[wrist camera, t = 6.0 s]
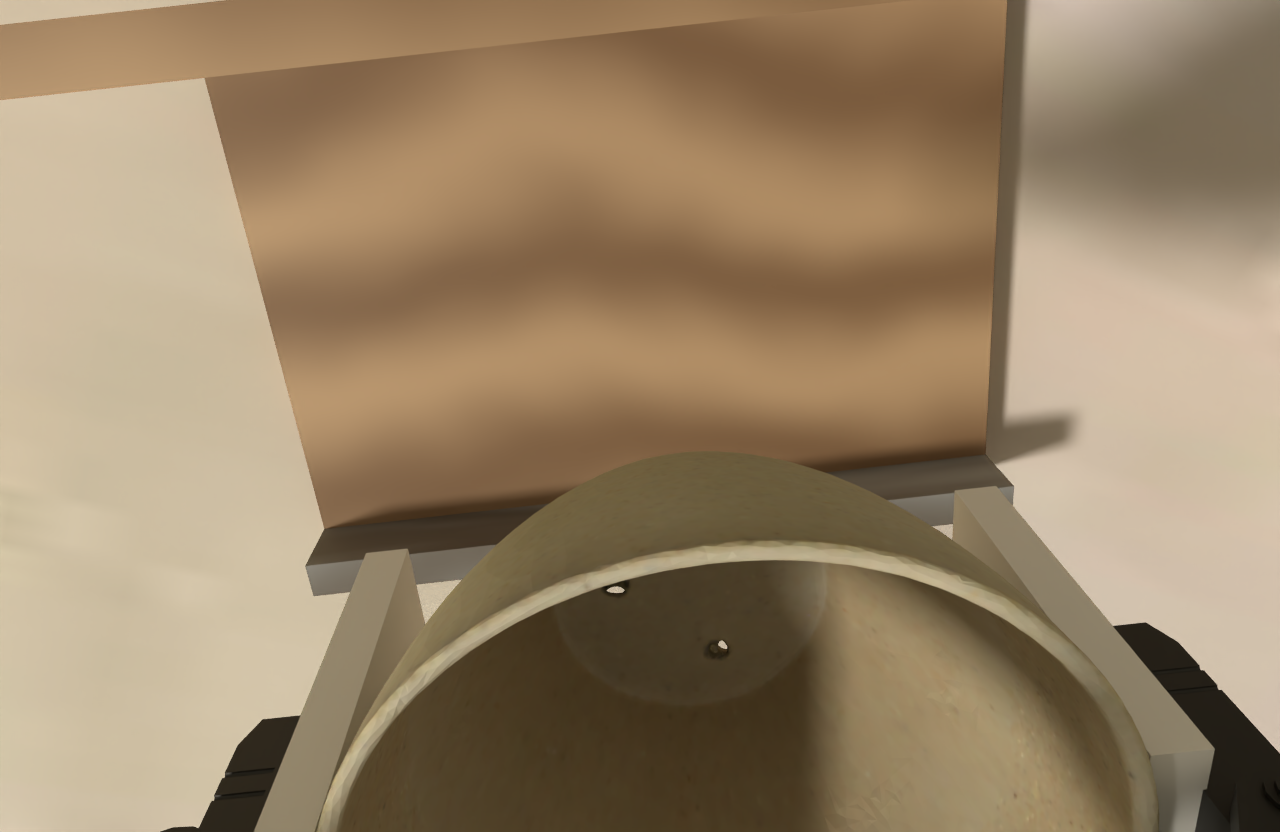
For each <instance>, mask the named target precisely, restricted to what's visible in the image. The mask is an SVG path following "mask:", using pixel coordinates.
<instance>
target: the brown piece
mask: <svg viewBox="0 0 1280 832" xmlns="http://www.w3.org/2000/svg"><path fill="white" fill-rule="evenodd" d="M1006 15H1007V0H226V1H216V2H207V3H198V4H189V5H180V6H170V7H161V8H152V9H143V10H134V11H125V12H115V13H106V14H97V15H88V16H79V17H70V18H60V19H51V20H42V21H33V22H24V23H14V24H5V25H0V100H6V99H15V98H24V97H33V96H42V95H52V94H61V93H70V92H79V91H88V90H97V89H106V88H115V87H125V86H134V85H143V84H152V83H161V82H170V81H179V80H189V79H198V78H205V81H206V85H207V89H208V93H209V96H210V100H211V104H212V108H213V112H214V115H215V119H216V123H217V127H218V130H219V134H220V138H221V142H222V145H223V149H224V153H225V157H226V160H227V164H228V168H229V172H230V175H231V179H232V183H233V187H234V190H235V194H236V198H237V202H238V205H239V209H240V213H241V217H242V221H243V224H244V228H245V232H246V236H247V239H248V243H249V247H250V251H251V254H252V258H253V262H254V266H255V269H256V273H257V277H258V281H259V284H260V288H261V292H262V296H263V299H264V303H265V307H266V311H267V314H268V318H269V322H270V326H271V330H272V333H273V337H274V341H275V345H276V348H277V352H278V356H279V360H280V363H281V367H282V371H283V375H284V378H285V382H286V386H287V390H288V393H289V397H290V401H291V405H292V408H293V412H294V416H295V420H296V424H297V427H298V431H299V435H300V439H301V442H302V446H303V450H304V454H305V457H306V461H307V465H308V469H309V472H310V476H311V480H312V484H313V487H314V491H315V495H316V499H317V502H318V506H319V510H320V514H321V517H322V521H323V525H324V531H323V533H322V535H321V537H320V539H319V541H318V543H317V545H316V546H315V548H314V550H313V552H312V554H311V556H310V558H309V560H308V562H307V564H306V566H305V567H306V570H307V574H308V577H309V581H310V584H311V588H312V592H313V595H314V596H319V595H328V594H337V593H346V592H351V589H352V587H353V584H354V582H355V579H356V577H357V574H358V572H359V570H360V567H361V565H362V562H363V560H364V557H365V555H366V553H371V552H380V551H390V550H399V549H408V551H409V556H410V560H411V564H412V569H413V573H414V578H415V582H416V584H425V583H434V582H443V581H452V580H461V579H463V578H464V577H465V576H466V575H467V574H468V573H469V572H470V571H471V570H472V569H473V568H474V567H475V566H476V565H477V564H478V563H479V562H480V561H481V560H482V559H483V558H484V557H485V556H486V555H487V554H488V553H489V552H490V551H491V550H492V549H493V548H494V547H495V546H496V545H497V544H498V543H499V542H500V541H502V540H503V539H504V538H505V537H506V536H507V535H508V534H510V533H511V532H512V531H513V530H514V529H515V528H517V527H518V526H519V525H521V524H522V523H523V522H524V521H526V520H527V519H528V518H530V517H531V516H532V515H533V514H535V513H536V512H538V511H539V510H541V509H542V508H543V507H545V506H546V505H548V504H549V503H551V502H552V501H554V500H555V499H557V498H558V497H560V496H562V495H563V494H565V493H567V492H568V491H570V490H572V489H574V488H575V487H577V486H579V485H581V484H583V483H585V482H587V481H589V480H591V479H593V478H595V477H597V476H599V475H601V474H603V473H605V472H608V471H610V470H613V469H615V468H618V467H621V466H623V465H626V464H630V463H633V462H636V461H639V460H642V459H646V458H651V457H656V456H662V455H667V454H675V453H683V452H694V451H719V452H736V453H744V454H752V455H758V456H764V457H770V458H776V459H780V460H784V461H788V462H792V463H796V464H799V465H802V466H806V467H809V468H812V469H815V470H819V471H822V472H825V473H828V474H830V475H833V476H835V477H838V478H840V479H843V480H845V481H848V482H850V483H853V484H855V485H857V486H859V487H861V488H864V489H866V490H868V491H870V492H872V493H874V494H876V495H878V496H880V497H882V498H884V499H886V500H888V501H889V502H891V503H893V504H895V505H897V506H898V507H900V508H902V509H904V510H906V511H907V512H909V513H911V514H912V515H914V516H916V517H917V518H919V519H921V520H922V521H924V522H925V523H927V524H929V525H930V526H938V525H947V524H953V516H954V495H955V490H963V489H972V488H982V487H991V486H997V488H998V489H999V490H1000V491H1001V492H1002V494H1003V495H1004V496H1005V497H1006V498H1007V500H1008V501H1009V502H1010V503H1011V504H1012V506H1013V493H1014V486H1013V485H1012V483H1011V482H1010V481H1009V480H1008V479H1007V478H1006V477H1005V476H1004V475H1003V474H1002V472H1001V471H1000V470H999V469H998V468H997V467H996V466H995V465H994V464H993V462H992V461H991V460H990V459H989V458H988V457H987V456H986V455H985V451H986V430H987V409H988V389H989V368H990V347H991V326H992V306H993V285H994V264H995V243H996V223H997V202H998V181H999V160H1000V139H1001V119H1002V98H1003V77H1004V56H1005V36H1006Z"/></svg>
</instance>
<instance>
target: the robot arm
mask: <svg viewBox="0 0 1280 832" xmlns="http://www.w3.org/2000/svg"><path fill="white" fill-rule="evenodd" d="M952 540H953V541H954V542H956V543H957V544H959V545H960V546H962V547H963V548H964V549H966V550H967V551H969V552H970V553H971V554H973V555H974V556H975V557H977V558H978V559H979V560H981V561H982V562H983V563H985V564H986V565H987V566H989V567H990V568H991V569H993V570H994V571H995V572H997V573H998V574H999V575H1000V576H1002V577H1003V578H1004V579H1005V580H1007V581H1008V582H1009V583H1010V584H1011V585H1013V586H1014V587H1015V588H1016V589H1017V590H1018V591H1020V592H1021V593H1022V594H1023V595H1024V596H1025V597H1027V598H1028V599H1029V600H1030V601H1031V602H1032V603H1033V604H1034V605H1036V606H1037V607H1038V608H1039V609H1040V610H1041V611H1042V612H1043V613H1044V614H1045V615H1046V616H1047V617H1048V618H1049V619H1050V620H1051V621H1052V622H1053V623H1054V624H1055V625H1056V626H1057V627H1058V628H1059V629H1060V630H1061V631H1062V632H1063V633H1064V634H1065V635H1066V636H1067V637H1068V638H1069V639H1070V640H1071V641H1072V642H1073V643H1074V644H1075V645H1076V646H1077V647H1078V648H1079V649H1080V650H1081V651H1082V652H1083V653H1084V654H1085V655H1086V656H1087V657H1088V658H1089V659H1090V660H1091V661H1092V662H1093V664H1094V665H1095V666H1096V667H1097V668H1098V669H1099V670H1100V672H1101V673H1102V674H1103V675H1104V676H1105V677H1106V679H1107V680H1108V682H1109V683H1110V684H1111V686H1112V687H1113V688H1114V690H1115V691H1116V693H1117V694H1118V696H1119V697H1120V698H1121V700H1122V701H1123V703H1124V705H1125V707H1126V709H1127V711H1128V712H1129V714H1130V715H1131V717H1132V719H1133V721H1134V723H1135V725H1136V727H1137V729H1138V731H1139V733H1140V735H1141V737H1142V740H1143V743H1144V745H1145V748H1146V751H1147V753H1148V756H1149V760H1150V763H1151V766H1152V770H1153V776H1154V780H1155V783H1156V789H1157V796H1158V802H1159V832H1280V753H1279V752H1278V751H1277V750H1276V749H1275V748H1274V747H1273V746H1272V745H1271V744H1270V742H1269V741H1268V740H1267V739H1266V738H1265V737H1264V736H1263V735H1262V734H1261V733H1260V731H1259V730H1258V729H1257V728H1256V727H1255V726H1254V725H1253V724H1252V723H1251V722H1250V721H1249V719H1248V718H1247V717H1246V716H1245V715H1244V714H1243V713H1242V712H1241V711H1240V710H1239V708H1238V707H1237V706H1236V705H1235V704H1234V703H1233V702H1232V701H1231V700H1230V699H1229V698H1228V696H1227V695H1226V694H1225V693H1224V692H1223V691H1222V690H1218V688H1217V684H1216V683H1215V682H1214V681H1213V680H1212V679H1211V678H1210V677H1209V676H1208V674H1207V673H1206V672H1205V671H1204V670H1202V671H1201V670H1200V667H1199V665H1198V664H1197V662H1196V661H1195V660H1194V659H1193V658H1192V657H1191V656H1190V655H1189V654H1188V653H1187V651H1186V650H1185V649H1184V648H1183V647H1182V646H1181V645H1180V644H1179V643H1178V642H1177V641H1175V640H1174V639H1172V638H1170V637H1169V636H1167V635H1165V634H1164V633H1162V632H1160V631H1159V630H1157V629H1155V628H1154V627H1152V626H1150V625H1149V624H1147V623H1137V624H1128V625H1118V626H1112V625H1111V623H1110V622H1109V621H1108V620H1107V619H1106V617H1105V616H1104V615H1103V614H1102V613H1101V611H1100V610H1099V609H1098V608H1097V607H1096V605H1095V604H1094V603H1093V602H1092V601H1091V599H1090V598H1089V597H1088V596H1087V595H1086V593H1085V592H1084V591H1083V590H1082V589H1081V587H1080V586H1079V585H1078V584H1077V583H1076V581H1075V580H1074V579H1073V578H1072V577H1071V575H1070V574H1069V573H1068V572H1067V570H1066V569H1065V568H1064V567H1063V566H1062V564H1061V563H1060V562H1059V561H1058V560H1057V558H1056V557H1055V556H1054V555H1053V554H1052V552H1051V551H1050V550H1049V549H1048V548H1047V546H1046V545H1045V544H1044V543H1043V542H1042V540H1041V539H1040V538H1039V537H1038V536H1037V534H1036V533H1035V532H1034V531H1033V530H1032V528H1031V527H1030V526H1029V525H1028V524H1027V522H1026V521H1025V520H1024V519H1023V518H1022V516H1021V515H1020V514H1019V513H1018V512H1017V510H1016V509H1015V508H1014V507H1013V506H1012V504H1011V503H1010V502H1009V501H1008V500H1007V498H1006V497H1005V496H1004V495H1003V494H1002V492H1001V491H1000V490H999V489H998V488H997V486H991V487H982V488H972V489H963V490H955V495H954V516H953V537H952ZM424 626H425V621H424V617H423V613H422V608H421V604H420V599H419V595H418V591H417V586H416V582H415V578H414V573H413V569H412V564H411V560H410V556H409V551H408V549H399V550H390V551H380V552H371V553H366V555H365V557H364V560H363V562H362V565H361V567H360V570H359V572H358V574H357V577H356V579H355V582H354V584H353V587H352V589H351V592H350V594H349V597H348V599H347V602H346V604H345V607H344V609H343V612H342V614H341V617H340V619H339V622H338V624H337V627H336V629H335V632H334V634H333V636H332V639H331V641H330V644H329V646H328V649H327V651H326V654H325V656H324V659H323V661H322V664H321V666H320V669H319V671H318V674H317V676H316V679H315V681H314V684H313V686H312V689H311V691H310V694H309V696H308V698H307V701H306V703H305V706H304V708H303V711H302V713H301V715H300V716H291V717H282V718H272V719H263V720H262V721H261V722H260V723H259V724H258V725H257V726H256V727H255V728H254V729H253V730H252V731H251V732H250V733H249V734H248V735H247V736H246V737H245V738H244V739H243V740H242V742H241V743H240V744H239V745H238V746H237V748H236V750H235V752H234V755H233V757H232V759H231V761H230V763H229V765H228V767H227V769H226V772H225V778H222V780H221V782H220V784H219V786H218V789H217V791H216V793H215V795H214V797H215V799H214V801H211V803H210V806H209V808H208V810H207V812H206V814H205V816H204V818H203V820H202V823H201V825H200V827H199V828H196V827H174V828H170V829H167V830H164V831H161V832H317V828H318V825H319V821H320V817H321V813H322V810H323V807H324V804H325V802H326V799H327V796H328V793H329V790H330V788H331V785H332V783H333V780H334V778H335V776H336V774H337V772H338V770H339V768H340V766H341V764H342V762H343V760H344V758H345V755H346V753H347V751H348V749H349V747H350V746H351V744H352V742H353V740H354V738H355V736H356V734H357V732H358V730H359V728H360V726H361V724H362V722H363V720H364V718H365V717H366V715H367V713H368V712H369V710H370V708H371V707H372V705H373V703H374V702H375V700H376V698H377V697H378V695H379V693H380V692H381V690H382V688H383V687H384V685H385V683H386V682H387V680H388V678H389V677H390V675H391V674H392V672H393V671H394V669H395V668H396V666H397V665H398V663H399V662H400V660H401V659H402V657H403V656H404V654H405V653H406V651H407V649H408V648H409V646H410V645H411V643H412V642H413V641H414V639H415V638H416V637H417V635H418V634H419V632H420V631H421V630H422V628H423V627H424Z"/></svg>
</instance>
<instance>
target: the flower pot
mask: <svg viewBox="0 0 1280 832" xmlns="http://www.w3.org/2000/svg"><path fill="white" fill-rule="evenodd" d="M614 586H618V587H622V588H623V589H624V590H625V591H624V592H623V593H610V592H607V589H609V588H610V587H614ZM721 640H723V641H724V642H725V643H726V645H727V649H723V648H721V647H720V646H718V643H719V641H721ZM317 832H1159V802H1158V796H1157V789H1156V783H1155V780H1154V776H1153V770H1152V766H1151V763H1150V760H1149V756H1148V753H1147V751H1146V748H1145V745H1144V743H1143V740H1142V737H1141V735H1140V733H1139V731H1138V729H1137V727H1136V725H1135V723H1134V721H1133V719H1132V717H1131V715H1130V714H1129V712H1128V711H1127V709H1126V707H1125V705H1124V703H1123V701H1122V700H1121V698H1120V697H1119V696H1118V694H1117V693H1116V691H1115V690H1114V688H1113V687H1112V686H1111V684H1110V683H1109V682H1108V680H1107V679H1106V677H1105V676H1104V675H1103V674H1102V673H1101V672H1100V670H1099V669H1098V668H1097V667H1096V666H1095V665H1094V664H1093V662H1092V661H1091V660H1090V659H1089V658H1088V657H1087V656H1086V655H1085V654H1084V653H1083V652H1082V651H1081V650H1080V649H1079V648H1078V647H1077V646H1076V645H1075V644H1074V643H1073V642H1072V641H1071V640H1070V639H1069V638H1068V637H1067V636H1066V635H1065V634H1064V633H1063V632H1062V631H1061V630H1060V629H1059V628H1058V627H1057V626H1056V625H1055V624H1054V623H1053V622H1052V621H1051V620H1050V619H1049V618H1048V617H1047V616H1046V615H1045V614H1044V613H1043V612H1042V611H1041V610H1040V609H1039V608H1038V607H1037V606H1036V605H1034V604H1033V603H1032V602H1031V601H1030V600H1029V599H1028V598H1027V597H1025V596H1024V595H1023V594H1022V593H1021V592H1020V591H1018V590H1017V589H1016V588H1015V587H1014V586H1013V585H1011V584H1010V583H1009V582H1008V581H1007V580H1005V579H1004V578H1003V577H1002V576H1000V575H999V574H998V573H997V572H995V571H994V570H993V569H991V568H990V567H989V566H987V565H986V564H985V563H983V562H982V561H981V560H979V559H978V558H977V557H975V556H974V555H973V554H971V553H970V552H969V551H967V550H966V549H964V548H963V547H962V546H960V545H959V544H957V543H956V542H954V541H953V540H951V539H950V538H949V537H947V536H946V535H944V534H943V533H941V532H940V531H938V530H937V529H935V528H933V527H932V526H930V525H929V524H927V523H925V522H924V521H922V520H921V519H919V518H917V517H916V516H914V515H912V514H911V513H909V512H907V511H906V510H904V509H902V508H900V507H898V506H897V505H895V504H893V503H891V502H889V501H888V500H886V499H884V498H882V497H880V496H878V495H876V494H874V493H872V492H870V491H868V490H866V489H864V488H861V487H859V486H857V485H855V484H853V483H850V482H848V481H845V480H843V479H840V478H838V477H835V476H833V475H830V474H828V473H825V472H822V471H819V470H815V469H812V468H809V467H806V466H802V465H799V464H796V463H792V462H788V461H784V460H780V459H776V458H770V457H764V456H758V455H752V454H744V453H736V452H719V451H694V452H683V453H675V454H667V455H662V456H656V457H651V458H646V459H642V460H639V461H636V462H633V463H630V464H626V465H623V466H621V467H618V468H615V469H613V470H610V471H608V472H605V473H603V474H601V475H599V476H597V477H595V478H593V479H591V480H589V481H587V482H585V483H583V484H581V485H579V486H577V487H575V488H574V489H572V490H570V491H568V492H567V493H565V494H563V495H562V496H560V497H558V498H557V499H555V500H554V501H552V502H551V503H549V504H548V505H546V506H545V507H543V508H542V509H541V510H539V511H538V512H536V513H535V514H533V515H532V516H531V517H530V518H528V519H527V520H526V521H524V522H523V523H522V524H521V525H519V526H518V527H517V528H515V529H514V530H513V531H512V532H511V533H510V534H508V535H507V536H506V537H505V538H504V539H503V540H502V541H500V542H499V543H498V544H497V545H496V546H495V547H494V548H493V549H492V550H491V551H490V552H489V553H488V554H487V555H486V556H485V557H484V558H483V559H482V560H481V561H480V562H479V563H478V564H477V565H476V566H475V567H474V568H473V569H472V570H471V571H470V572H469V573H468V574H467V575H466V576H465V577H464V578H463V579H462V580H461V582H460V583H459V584H458V585H457V586H456V587H455V588H454V590H453V591H452V592H451V593H450V594H449V595H448V596H447V598H446V599H445V600H444V601H443V603H442V604H441V605H440V606H439V608H438V609H437V610H436V611H435V613H434V614H433V615H432V616H431V618H430V619H429V620H428V622H427V623H426V624H425V626H424V627H423V628H422V630H421V631H420V632H419V634H418V635H417V637H416V638H415V639H414V641H413V642H412V643H411V645H410V646H409V648H408V649H407V651H406V653H405V654H404V656H403V657H402V659H401V660H400V662H399V663H398V665H397V666H396V668H395V669H394V671H393V672H392V674H391V675H390V677H389V678H388V680H387V682H386V683H385V685H384V687H383V688H382V690H381V692H380V693H379V695H378V697H377V698H376V700H375V702H374V703H373V705H372V707H371V708H370V710H369V712H368V713H367V715H366V717H365V718H364V720H363V722H362V724H361V726H360V728H359V730H358V732H357V734H356V736H355V738H354V740H353V742H352V744H351V746H350V747H349V749H348V751H347V753H346V755H345V758H344V760H343V762H342V764H341V766H340V768H339V770H338V772H337V774H336V776H335V778H334V780H333V783H332V785H331V788H330V790H329V793H328V796H327V799H326V802H325V804H324V807H323V810H322V813H321V817H320V821H319V825H318V828H317Z"/></svg>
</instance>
